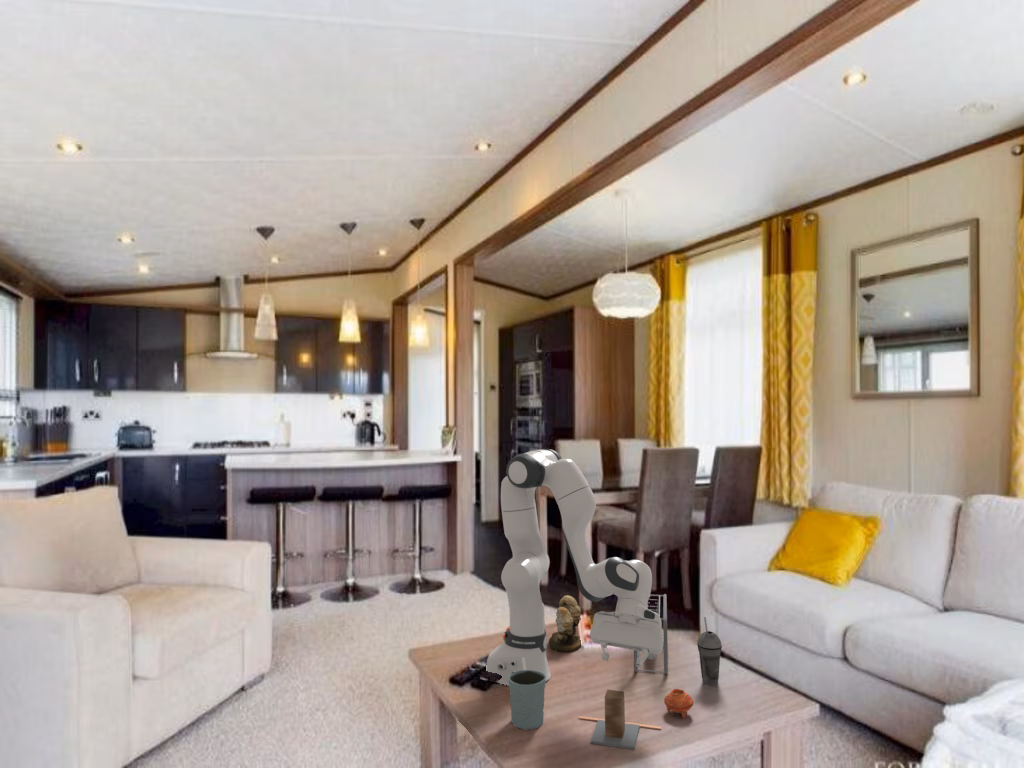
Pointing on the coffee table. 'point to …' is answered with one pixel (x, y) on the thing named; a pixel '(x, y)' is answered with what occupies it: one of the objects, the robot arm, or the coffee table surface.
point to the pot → (678, 701)
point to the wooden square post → (614, 714)
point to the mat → (625, 742)
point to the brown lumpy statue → (566, 626)
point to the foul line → (625, 722)
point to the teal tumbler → (527, 698)
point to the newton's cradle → (653, 656)
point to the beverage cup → (709, 656)
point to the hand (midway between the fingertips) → (621, 662)
